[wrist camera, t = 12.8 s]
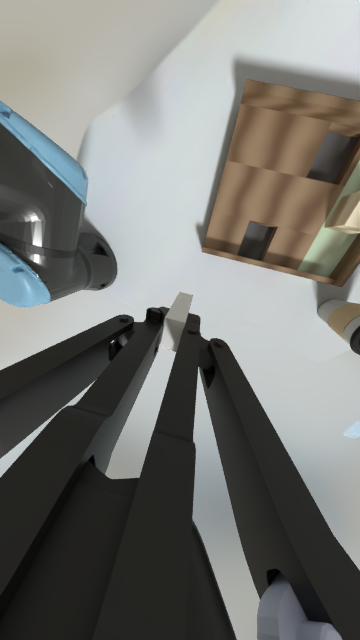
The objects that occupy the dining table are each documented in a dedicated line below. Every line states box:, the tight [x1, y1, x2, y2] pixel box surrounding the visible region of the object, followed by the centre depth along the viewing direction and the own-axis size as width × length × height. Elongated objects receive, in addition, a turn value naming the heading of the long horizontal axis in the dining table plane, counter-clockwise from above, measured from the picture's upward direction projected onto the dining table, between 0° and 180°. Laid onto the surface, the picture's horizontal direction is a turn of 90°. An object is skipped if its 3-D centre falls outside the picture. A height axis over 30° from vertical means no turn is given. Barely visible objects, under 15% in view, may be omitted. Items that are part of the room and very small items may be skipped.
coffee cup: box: [318, 299, 360, 355], centre depth 32 cm, size 9×9×15 cm
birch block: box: [325, 191, 360, 234], centre depth 27 cm, size 5×5×5 cm
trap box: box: [202, 79, 360, 287], centre depth 29 cm, size 30×24×6 cm
